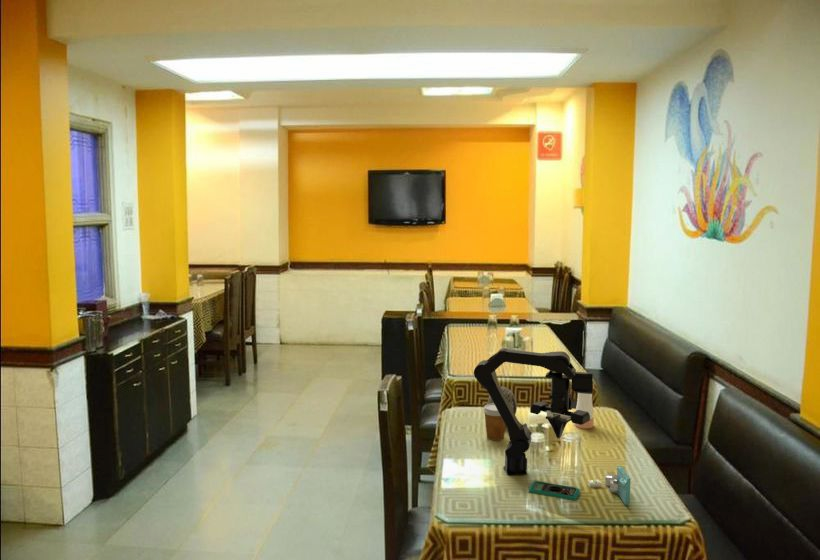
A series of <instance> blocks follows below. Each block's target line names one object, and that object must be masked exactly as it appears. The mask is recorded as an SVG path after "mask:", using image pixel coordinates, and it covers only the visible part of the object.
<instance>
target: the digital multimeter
mask: <svg viewBox="0 0 820 560" xmlns="http://www.w3.org/2000/svg"><path fill="white" fill-rule="evenodd" d="M580 492H581V491H580V488H579V487H574V486H568V485H567V486H566V485H561V484H556V483H551V482H546V481H540V480H533V481H532V483H530V486H529V488H528V494H537V495H541V496H543V495H544V496H549V497H555V498H559V499H565V500H571V501H574V502H575V501H577V500H578V499H579V497H580V495H581V493H580Z"/></svg>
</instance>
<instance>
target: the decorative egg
mask: <svg viewBox="0 0 820 560" xmlns="http://www.w3.org/2000/svg"><path fill="white" fill-rule="evenodd" d="M499 386H500V388H501V390H502V392H503V393H504V395H505V397H506V399H507V401H508V403H509V405H510V407H511V408H512V410H513V412H514V414H515V415H516V413H517V409H518V406H517V400H516V396H515V395H514V393H513V391H512V390H511V389H509V388H508V387H506V386H503V385H502V386H501V385H499ZM492 403H494V402H493V401H492V399H491V397H490V395H489V396H488V399H487V404H492Z"/></svg>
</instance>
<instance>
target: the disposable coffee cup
mask: <svg viewBox="0 0 820 560" xmlns="http://www.w3.org/2000/svg"><path fill="white" fill-rule="evenodd" d="M483 407H484V408H483V409H482V411H483V414H484V420H485V429H486V437H487V439H488V438H489V440H490V441H502V440H504V438H505V431H506V425H505V423H504V421H503V419H502V417H501V416H500V414H499V412H498V410H497V408H496V406H495V404H494V403H492V404H488V403H487V404H485V405H484V406H483ZM501 439H502V440H501Z"/></svg>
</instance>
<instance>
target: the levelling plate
mask: <svg viewBox="0 0 820 560" xmlns="http://www.w3.org/2000/svg"><path fill="white" fill-rule="evenodd" d="M613 478H617V474H614V473H607V474H605V477H604V485H605V487H607V488H610V480H612V479H613ZM587 485H588V487H589V488H602V485H603V484H602V481H600V479H588V480H587Z"/></svg>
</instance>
